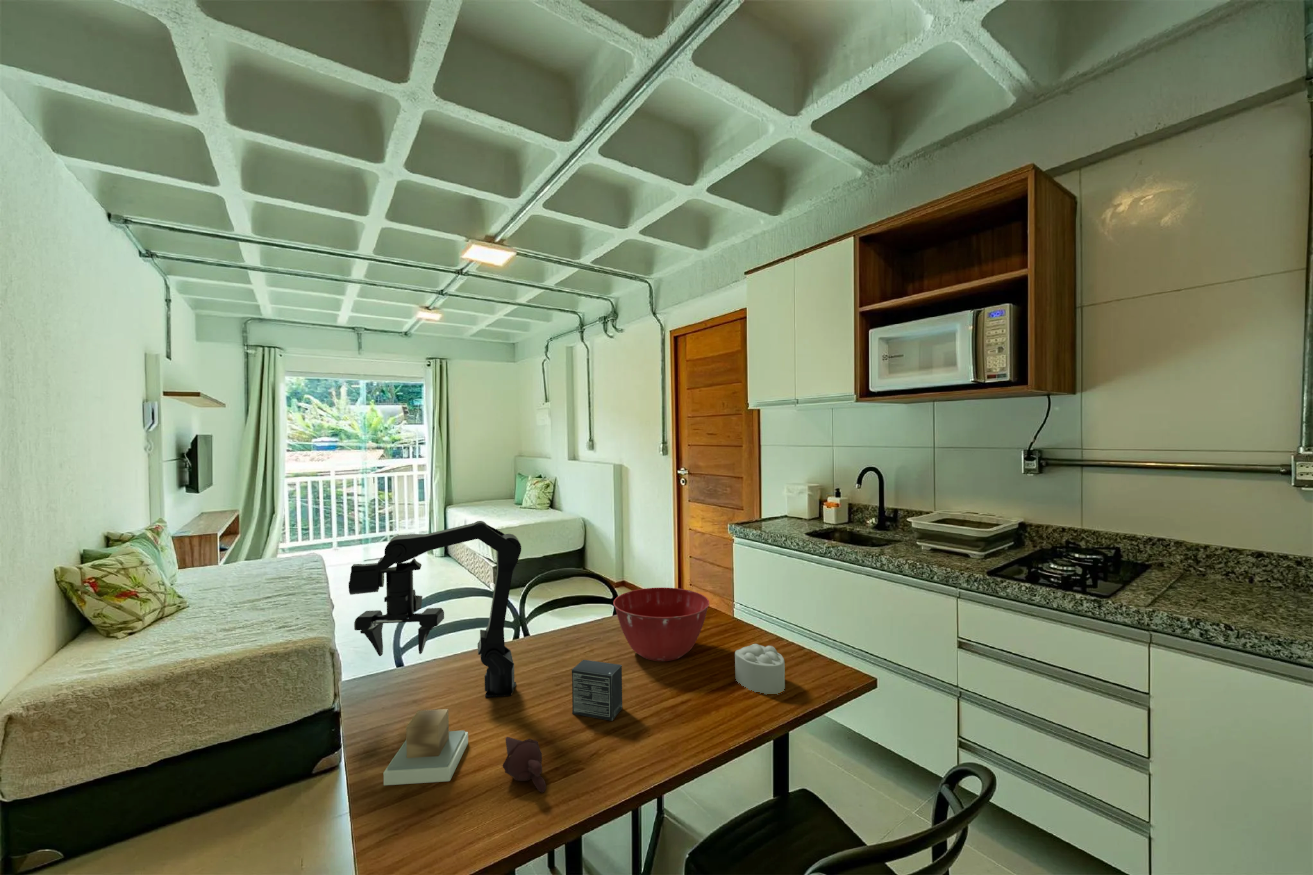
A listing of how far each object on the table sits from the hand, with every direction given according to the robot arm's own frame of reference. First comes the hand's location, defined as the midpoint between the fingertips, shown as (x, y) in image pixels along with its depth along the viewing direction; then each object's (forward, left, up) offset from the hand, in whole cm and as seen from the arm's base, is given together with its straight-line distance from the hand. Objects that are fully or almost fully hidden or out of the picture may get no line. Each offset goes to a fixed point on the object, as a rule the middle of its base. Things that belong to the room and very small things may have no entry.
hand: (400, 654), depth 123 cm
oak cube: (-14, +22, -10) cm, 28 cm away
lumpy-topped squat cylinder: (-89, -3, -13) cm, 90 cm away
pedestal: (-14, +22, -13) cm, 29 cm away
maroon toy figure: (-34, +28, -13) cm, 45 cm away
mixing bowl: (-65, -25, -13) cm, 71 cm away
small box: (-47, +6, -13) cm, 49 cm away
